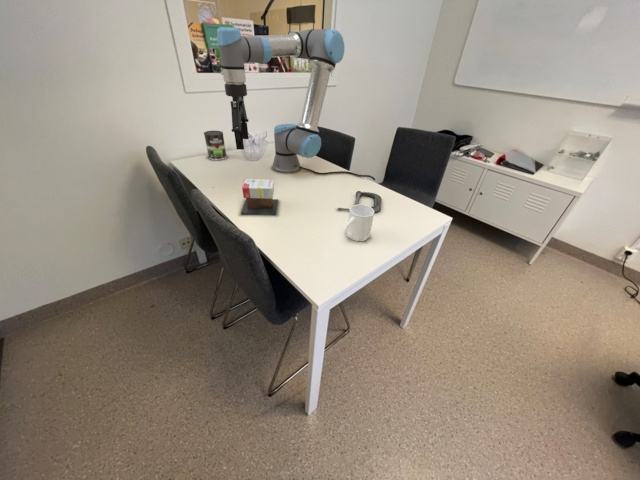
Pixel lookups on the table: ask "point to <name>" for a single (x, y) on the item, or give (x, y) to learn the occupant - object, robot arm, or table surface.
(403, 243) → the table surface
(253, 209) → the stand
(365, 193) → the c clamp
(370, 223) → the mug
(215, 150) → the coffee can
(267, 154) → the table surface
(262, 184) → the ink box
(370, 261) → the table surface
